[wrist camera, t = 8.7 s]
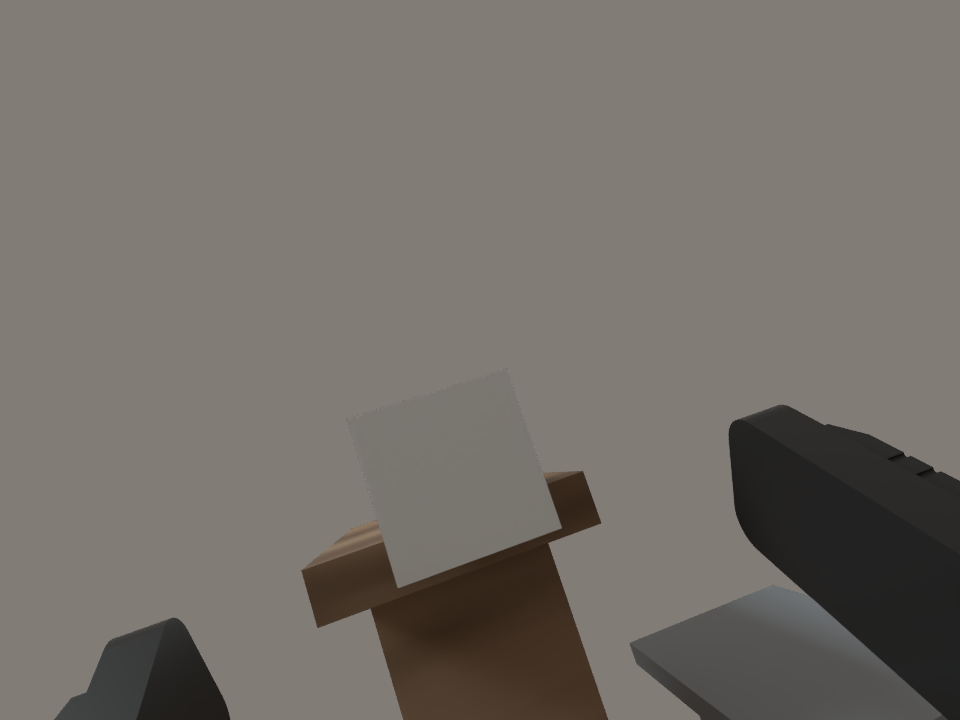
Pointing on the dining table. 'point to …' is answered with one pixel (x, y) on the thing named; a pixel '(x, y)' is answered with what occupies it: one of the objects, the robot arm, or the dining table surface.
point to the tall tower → (471, 623)
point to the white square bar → (452, 476)
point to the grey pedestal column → (776, 665)
